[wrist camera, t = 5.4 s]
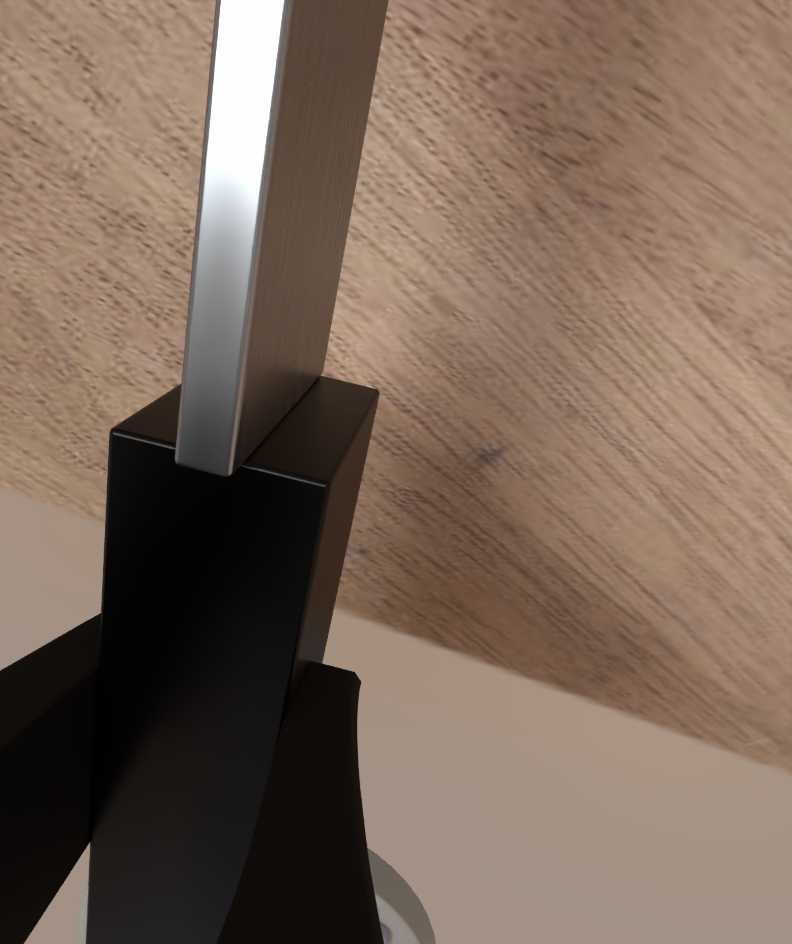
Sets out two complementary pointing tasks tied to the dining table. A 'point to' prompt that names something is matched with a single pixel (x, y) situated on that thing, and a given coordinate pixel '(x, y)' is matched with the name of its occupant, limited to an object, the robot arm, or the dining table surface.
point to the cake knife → (232, 480)
